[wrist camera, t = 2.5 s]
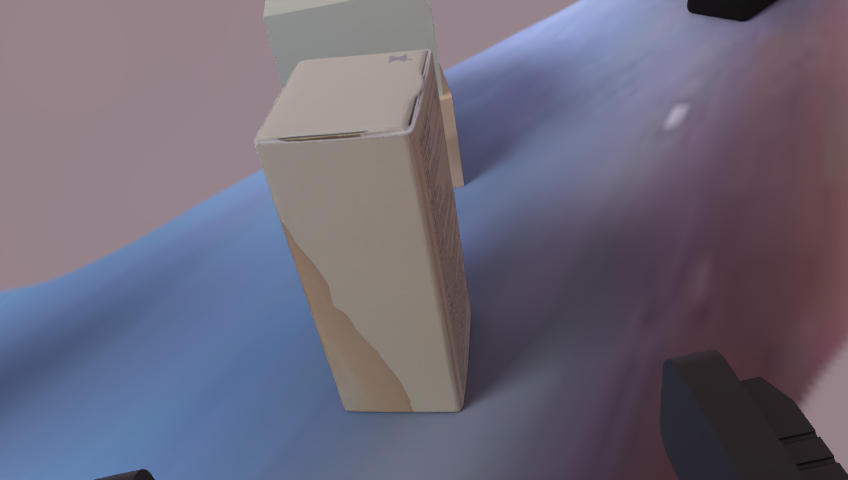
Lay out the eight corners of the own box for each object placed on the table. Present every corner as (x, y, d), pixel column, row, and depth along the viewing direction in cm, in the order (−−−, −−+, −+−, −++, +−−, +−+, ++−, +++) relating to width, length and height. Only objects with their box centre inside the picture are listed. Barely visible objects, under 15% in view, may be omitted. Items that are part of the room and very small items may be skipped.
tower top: (293, 124, 32) (262, 17, 29) (296, 65, 38) (271, -29, 35) (443, 95, 32) (428, -14, 29) (424, 41, 38) (410, -55, 35)
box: (368, 314, 28) (299, 53, 22) (475, 311, 28) (436, 40, 21) (340, 419, 24) (245, 138, 18) (465, 420, 24) (413, 125, 17)
